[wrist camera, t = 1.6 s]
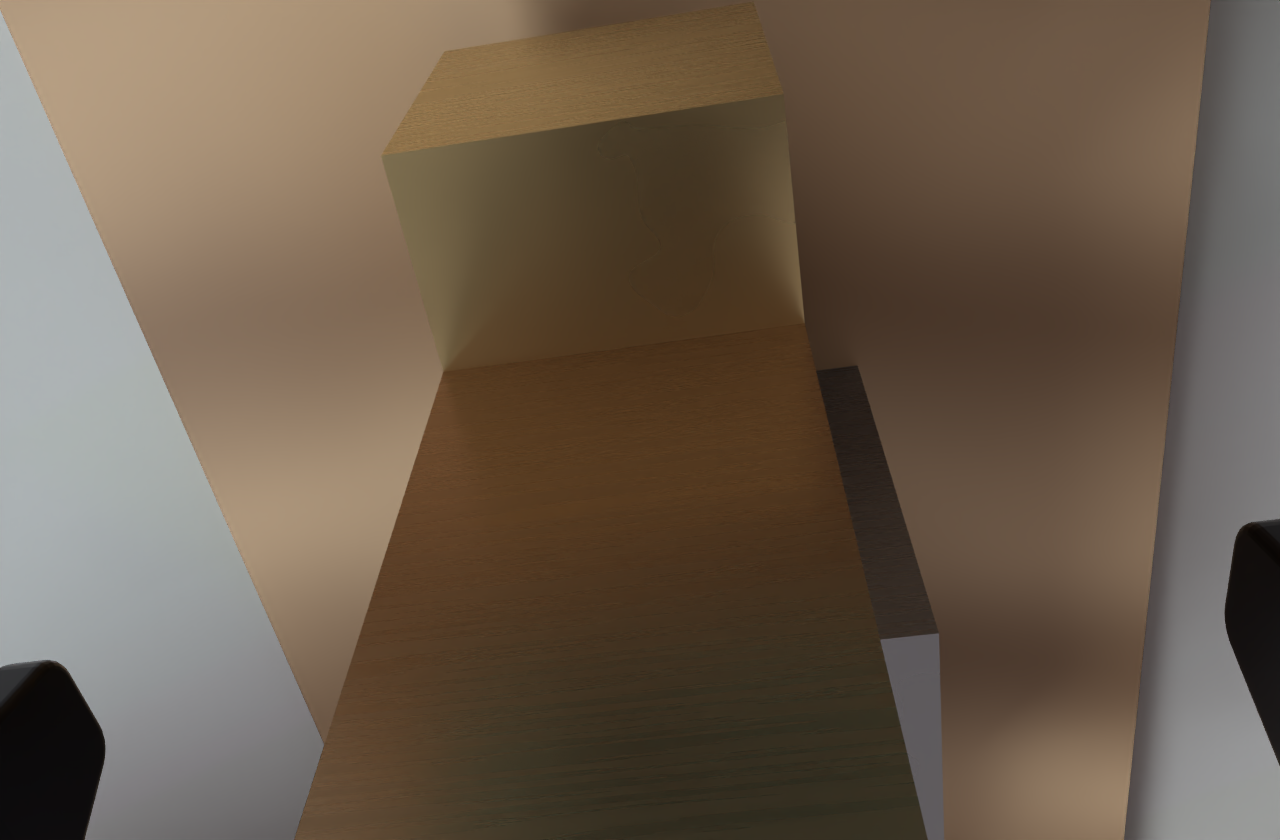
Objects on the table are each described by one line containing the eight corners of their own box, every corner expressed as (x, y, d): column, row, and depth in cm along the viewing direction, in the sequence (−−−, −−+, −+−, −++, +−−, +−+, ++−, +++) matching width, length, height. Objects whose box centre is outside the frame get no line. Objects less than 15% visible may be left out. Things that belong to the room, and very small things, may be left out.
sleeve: (887, 819, 19) (951, 1129, 15) (599, 845, 20) (583, 1155, 16) (857, 365, 15) (938, 633, 10) (480, 414, 15) (412, 689, 11)
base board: (1095, 892, 22) (1113, 939, 21) (443, 947, 23) (434, 994, 22) (1331, -1815, 7) (1419, -2013, 6) (-487, -1272, 8) (-613, -1380, 8)
